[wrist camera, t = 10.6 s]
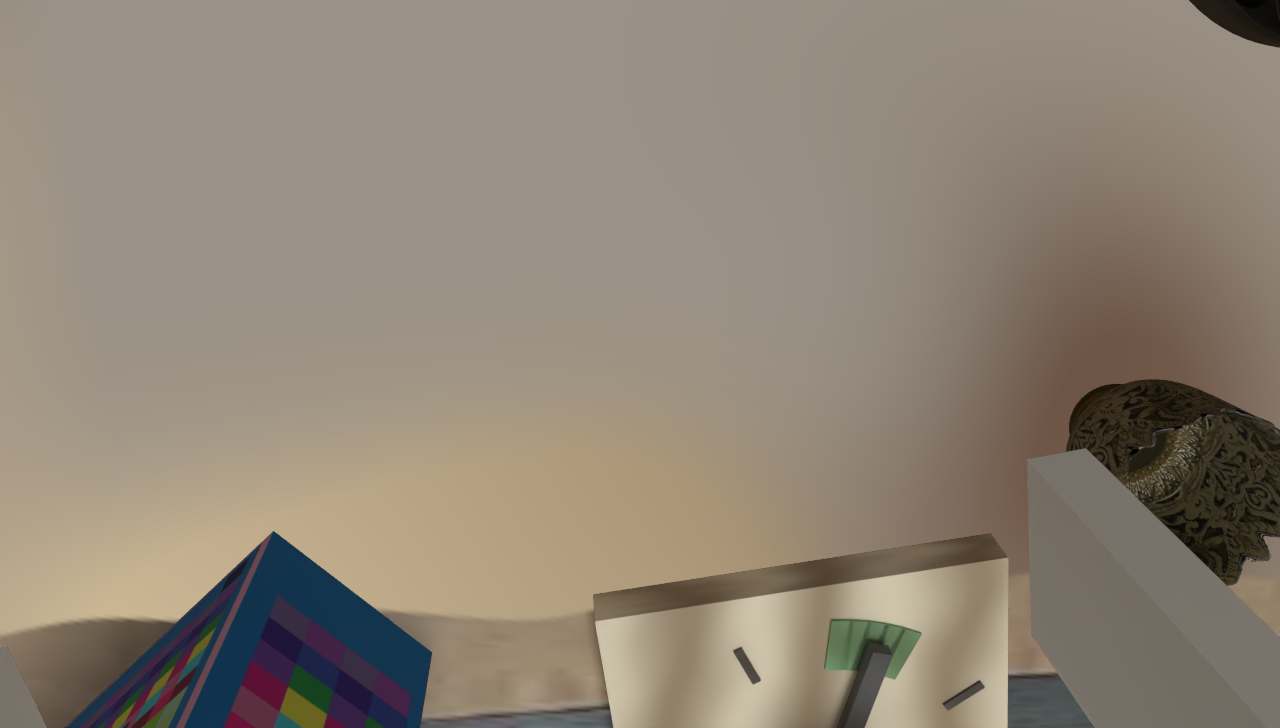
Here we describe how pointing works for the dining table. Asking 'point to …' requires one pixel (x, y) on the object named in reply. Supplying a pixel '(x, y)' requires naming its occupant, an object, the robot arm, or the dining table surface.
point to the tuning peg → (866, 686)
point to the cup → (1189, 465)
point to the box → (272, 658)
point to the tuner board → (815, 642)
